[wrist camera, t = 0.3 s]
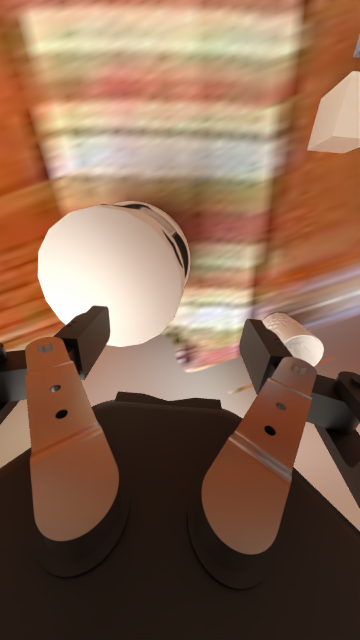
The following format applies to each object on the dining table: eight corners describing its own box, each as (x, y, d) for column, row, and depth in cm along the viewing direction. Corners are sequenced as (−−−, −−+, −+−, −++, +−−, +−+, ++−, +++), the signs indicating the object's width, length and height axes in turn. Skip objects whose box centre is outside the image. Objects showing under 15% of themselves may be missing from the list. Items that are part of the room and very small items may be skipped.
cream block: (320, 99, 28) (352, 70, 23) (361, 102, 28) (402, 75, 23) (306, 150, 30) (332, 136, 25) (343, 153, 30) (377, 139, 25)
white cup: (300, 331, 44) (330, 360, 35) (265, 348, 46) (285, 380, 37) (286, 302, 41) (314, 326, 32) (250, 321, 43) (267, 349, 34)
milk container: (107, 304, 42) (59, 358, 26) (83, 208, 34) (-7, 201, 18) (192, 298, 41) (196, 351, 25) (186, 198, 33) (187, 181, 17)
